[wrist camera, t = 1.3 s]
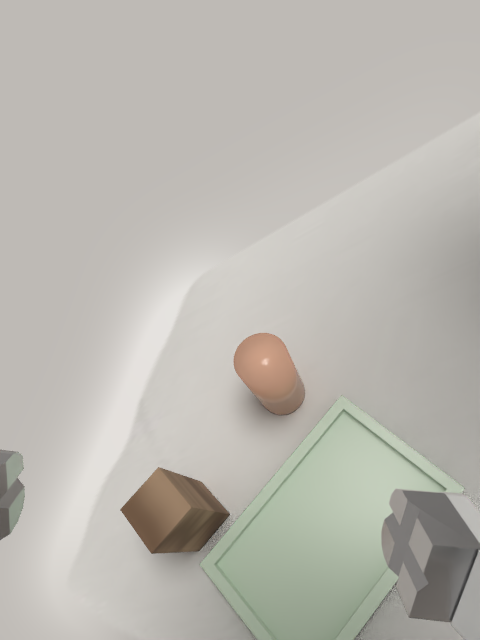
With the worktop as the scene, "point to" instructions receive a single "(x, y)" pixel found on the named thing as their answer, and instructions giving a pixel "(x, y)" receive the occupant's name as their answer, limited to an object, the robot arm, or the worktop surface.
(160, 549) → the walnut block
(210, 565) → the tray
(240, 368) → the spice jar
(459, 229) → the worktop surface
